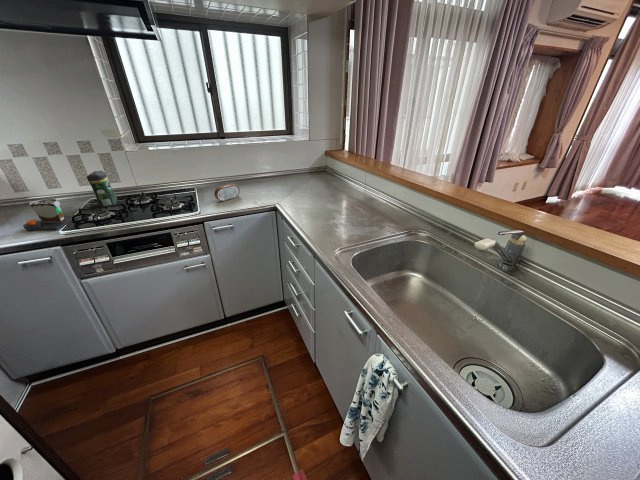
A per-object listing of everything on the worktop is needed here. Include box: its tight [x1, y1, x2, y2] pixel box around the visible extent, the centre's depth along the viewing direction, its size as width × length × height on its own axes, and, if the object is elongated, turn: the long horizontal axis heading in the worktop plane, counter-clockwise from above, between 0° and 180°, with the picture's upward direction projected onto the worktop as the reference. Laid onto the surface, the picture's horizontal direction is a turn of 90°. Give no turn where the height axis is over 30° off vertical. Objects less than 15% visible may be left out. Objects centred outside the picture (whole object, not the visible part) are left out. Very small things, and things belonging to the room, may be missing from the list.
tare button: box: [25, 219, 37, 225], centre depth 125 cm, size 3×3×2 cm
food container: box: [29, 198, 65, 222], centre depth 130 cm, size 12×6×10 cm, turn 90°
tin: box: [214, 183, 241, 202], centre depth 155 cm, size 15×3×8 cm, turn 136°
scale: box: [22, 214, 76, 232], centre depth 130 cm, size 15×15×3 cm
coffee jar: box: [86, 170, 118, 208], centre depth 148 cm, size 10×8×19 cm
